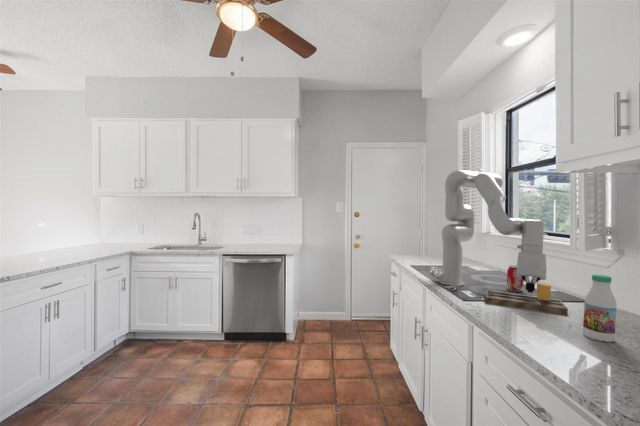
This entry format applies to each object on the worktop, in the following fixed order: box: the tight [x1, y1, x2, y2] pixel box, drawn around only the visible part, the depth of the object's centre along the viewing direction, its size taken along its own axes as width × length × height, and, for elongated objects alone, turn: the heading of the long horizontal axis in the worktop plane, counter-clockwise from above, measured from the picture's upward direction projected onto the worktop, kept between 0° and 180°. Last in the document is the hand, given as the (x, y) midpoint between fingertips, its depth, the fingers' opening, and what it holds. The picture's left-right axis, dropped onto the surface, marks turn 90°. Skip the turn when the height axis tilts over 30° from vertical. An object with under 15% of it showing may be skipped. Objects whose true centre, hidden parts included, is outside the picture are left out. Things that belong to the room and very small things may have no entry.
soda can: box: [506, 264, 525, 293], centre depth 156 cm, size 7×7×12 cm
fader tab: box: [536, 281, 552, 301], centre depth 130 cm, size 4×5×7 cm
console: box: [484, 289, 569, 316], centre depth 133 cm, size 28×14×3 cm, turn 62°
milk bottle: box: [582, 274, 617, 343], centre depth 100 cm, size 8×8×20 cm
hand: (529, 292), depth 132 cm, fingers closed
